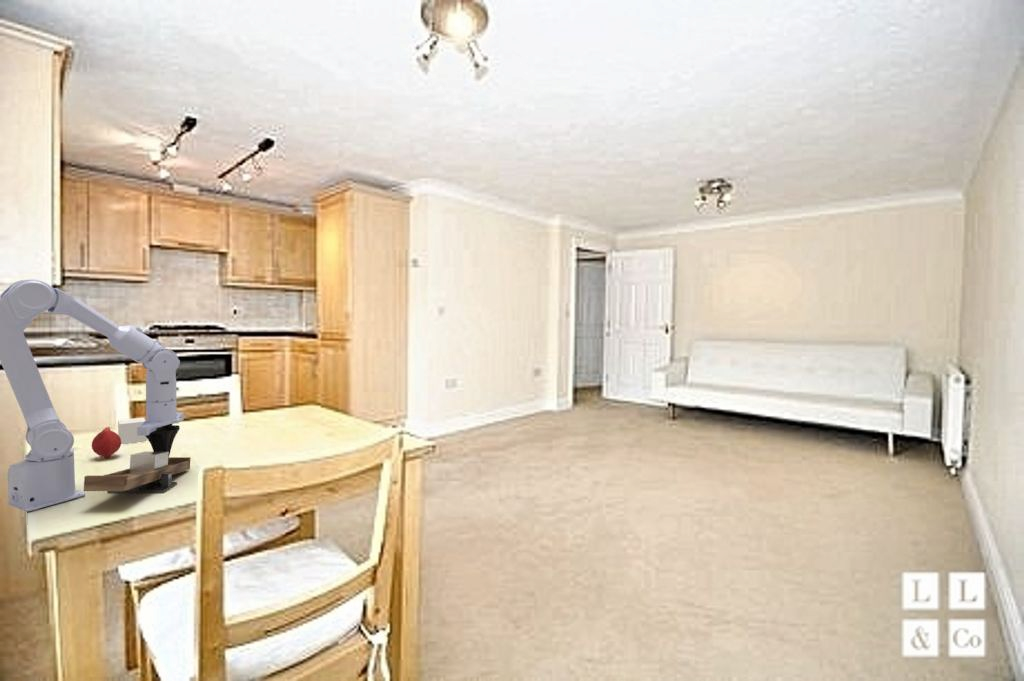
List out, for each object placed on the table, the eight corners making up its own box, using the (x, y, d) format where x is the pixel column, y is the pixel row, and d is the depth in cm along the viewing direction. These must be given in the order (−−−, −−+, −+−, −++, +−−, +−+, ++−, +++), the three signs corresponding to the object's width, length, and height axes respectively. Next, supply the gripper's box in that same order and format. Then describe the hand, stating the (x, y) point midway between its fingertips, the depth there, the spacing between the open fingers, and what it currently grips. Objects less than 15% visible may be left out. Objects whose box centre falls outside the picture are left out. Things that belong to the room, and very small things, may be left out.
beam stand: (163, 493, 107) (163, 476, 107) (107, 493, 106) (106, 477, 106) (177, 484, 112) (176, 469, 112) (122, 484, 111) (122, 469, 111)
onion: (104, 462, 125) (104, 430, 125) (86, 460, 126) (85, 428, 126) (127, 455, 131) (126, 425, 130) (108, 453, 132) (108, 423, 131)
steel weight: (154, 473, 109) (155, 454, 109) (129, 473, 108) (130, 454, 109) (167, 469, 114) (168, 451, 114) (143, 469, 113) (145, 451, 113)
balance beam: (124, 491, 97) (125, 476, 98) (82, 491, 97) (83, 476, 97) (190, 469, 121) (191, 457, 121) (157, 469, 120) (157, 457, 121)
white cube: (144, 437, 148) (143, 417, 148) (146, 442, 144) (146, 421, 143) (118, 440, 144) (117, 419, 144) (120, 445, 140) (119, 424, 139)
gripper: (161, 406, 108) (162, 468, 109) (196, 394, 123) (197, 449, 124) (126, 406, 108) (127, 468, 108) (165, 394, 122) (166, 449, 123)
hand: (162, 458), depth 116 cm, fingers closed
